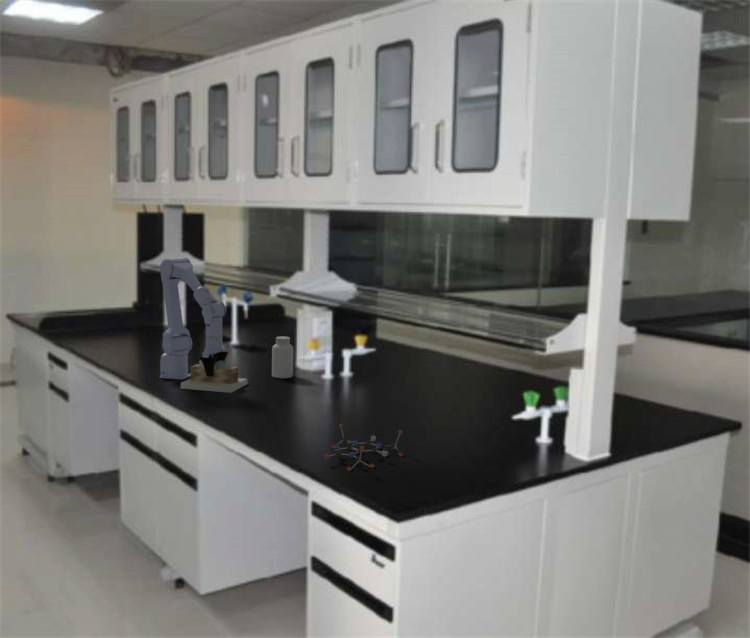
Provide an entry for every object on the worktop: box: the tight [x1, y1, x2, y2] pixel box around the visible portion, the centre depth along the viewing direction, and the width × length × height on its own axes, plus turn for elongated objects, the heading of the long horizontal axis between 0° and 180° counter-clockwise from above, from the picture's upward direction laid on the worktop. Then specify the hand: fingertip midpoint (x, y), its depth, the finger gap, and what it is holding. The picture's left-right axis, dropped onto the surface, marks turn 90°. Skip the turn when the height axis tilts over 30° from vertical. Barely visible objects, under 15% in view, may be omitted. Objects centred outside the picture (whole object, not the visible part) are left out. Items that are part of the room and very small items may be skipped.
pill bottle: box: [271, 335, 294, 379], centre depth 303 cm, size 8×8×15 cm
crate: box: [215, 360, 231, 369], centre depth 284 cm, size 4×4×2 cm
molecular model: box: [323, 423, 404, 472], centre depth 212 cm, size 24×7×20 cm
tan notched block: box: [189, 363, 239, 384], centre depth 285 cm, size 16×5×5 cm, turn 76°
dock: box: [180, 377, 248, 394], centre depth 286 cm, size 19×14×2 cm
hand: (214, 374), depth 285 cm, fingers open, 7 cm apart
